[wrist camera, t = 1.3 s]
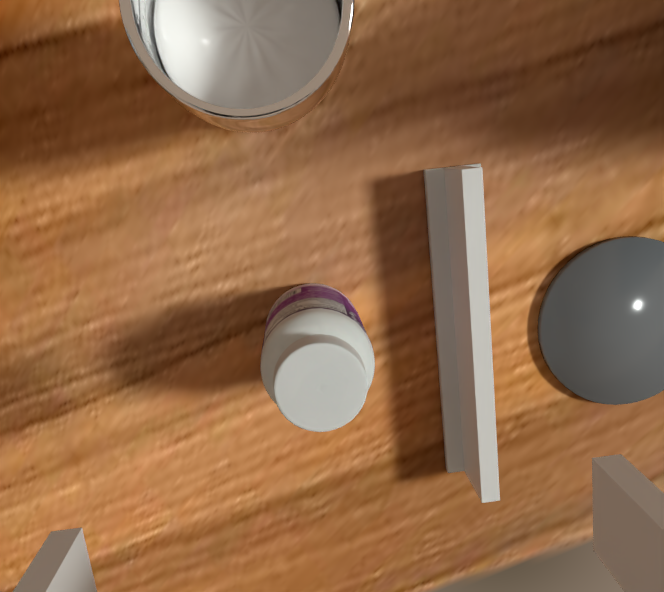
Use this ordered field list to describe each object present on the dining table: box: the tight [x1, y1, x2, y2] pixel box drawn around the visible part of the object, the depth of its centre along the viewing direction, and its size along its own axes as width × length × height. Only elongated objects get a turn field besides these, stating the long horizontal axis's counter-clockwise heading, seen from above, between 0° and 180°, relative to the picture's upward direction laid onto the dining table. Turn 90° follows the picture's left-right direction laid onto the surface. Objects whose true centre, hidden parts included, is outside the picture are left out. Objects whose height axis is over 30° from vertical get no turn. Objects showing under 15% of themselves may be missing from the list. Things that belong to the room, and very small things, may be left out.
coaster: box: [538, 236, 664, 405], centre depth 36 cm, size 10×10×1 cm
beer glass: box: [119, 0, 354, 132], centre depth 24 cm, size 7×7×15 cm
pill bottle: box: [260, 283, 375, 432], centre depth 30 cm, size 5×5×10 cm
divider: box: [424, 164, 500, 503], centre depth 34 cm, size 3×18×4 cm, turn 6°
